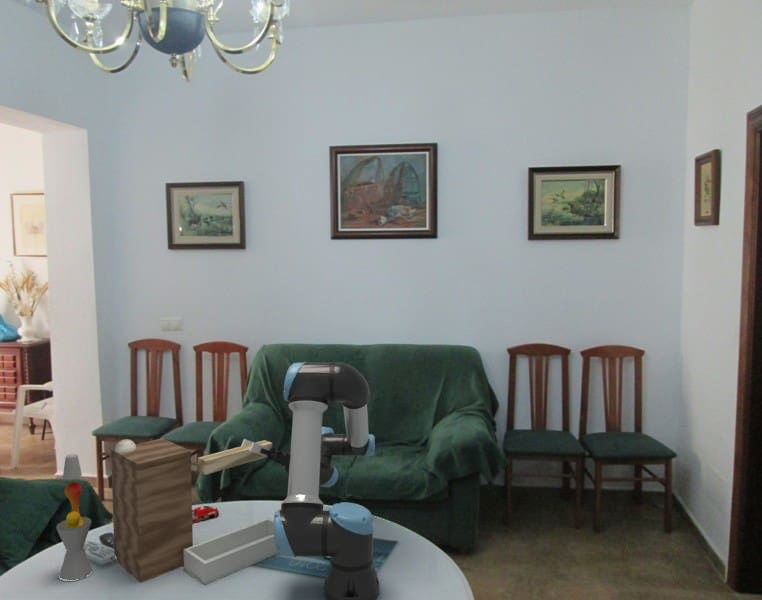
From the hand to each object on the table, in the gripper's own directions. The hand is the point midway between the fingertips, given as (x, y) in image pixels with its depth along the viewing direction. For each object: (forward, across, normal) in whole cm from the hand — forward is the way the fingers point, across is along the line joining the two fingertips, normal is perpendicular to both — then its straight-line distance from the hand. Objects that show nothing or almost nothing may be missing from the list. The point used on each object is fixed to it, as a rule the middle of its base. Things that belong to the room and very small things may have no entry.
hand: (247, 444), depth 184 cm
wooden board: (+1, 0, -6) cm, 6 cm away
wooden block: (+3, +17, -41) cm, 44 cm away
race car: (-19, +34, -29) cm, 49 cm away
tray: (-14, 0, -32) cm, 34 cm away
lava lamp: (+19, +26, -51) cm, 60 cm away
